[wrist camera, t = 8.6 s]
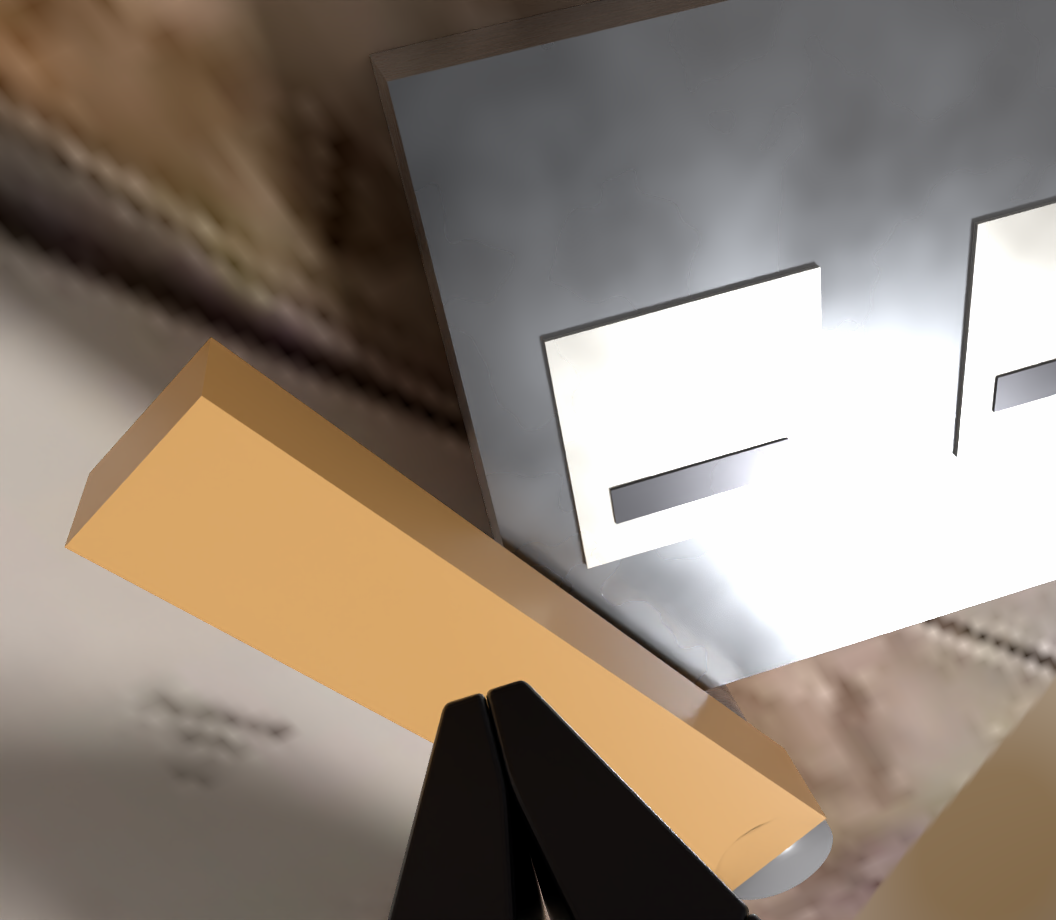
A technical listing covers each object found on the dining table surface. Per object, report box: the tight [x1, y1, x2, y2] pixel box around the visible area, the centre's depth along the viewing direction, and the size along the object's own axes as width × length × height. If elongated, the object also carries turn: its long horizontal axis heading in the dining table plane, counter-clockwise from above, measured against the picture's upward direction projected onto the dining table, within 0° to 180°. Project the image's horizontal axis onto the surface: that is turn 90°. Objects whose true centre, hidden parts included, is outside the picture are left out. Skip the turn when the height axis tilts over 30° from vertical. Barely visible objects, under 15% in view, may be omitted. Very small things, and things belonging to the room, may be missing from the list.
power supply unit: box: [370, 0, 1056, 721], centre depth 20 cm, size 18×16×3 cm
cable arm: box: [65, 337, 833, 900], centre depth 18 cm, size 17×3×2 cm, turn 43°
